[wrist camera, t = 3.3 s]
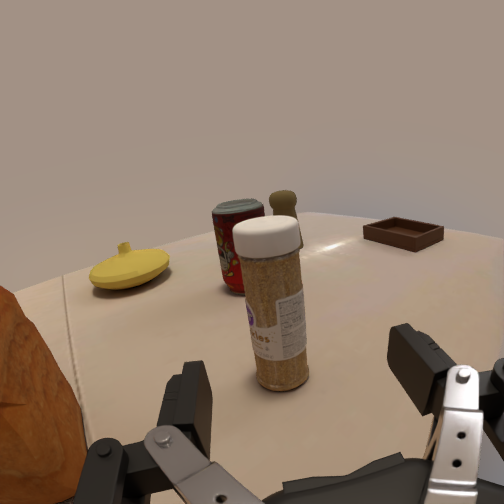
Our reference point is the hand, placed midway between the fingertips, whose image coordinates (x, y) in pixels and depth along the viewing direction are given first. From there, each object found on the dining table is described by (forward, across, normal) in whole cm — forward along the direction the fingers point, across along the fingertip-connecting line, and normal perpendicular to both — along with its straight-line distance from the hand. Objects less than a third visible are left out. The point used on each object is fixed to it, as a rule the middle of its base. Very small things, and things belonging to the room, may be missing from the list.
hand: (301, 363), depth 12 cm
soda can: (+31, +2, +10) cm, 33 cm away
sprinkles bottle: (+11, 0, +10) cm, 14 cm away
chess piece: (+48, -7, +10) cm, 49 cm away
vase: (+41, +23, +10) cm, 48 cm away
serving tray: (+42, -29, +9) cm, 52 cm away
